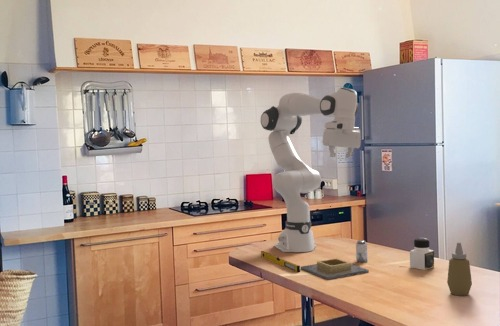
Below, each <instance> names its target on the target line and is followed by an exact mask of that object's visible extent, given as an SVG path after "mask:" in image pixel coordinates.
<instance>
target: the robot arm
mask: <svg viewBox="0 0 500 326" xmlns="http://www.w3.org/2000/svg"><path fill="white" fill-rule="evenodd" d="M358 112H359V103H358V93H357V91H356V90H355V89H352V88H348V87H339V88H338V89H337V90H336V91H335V92H333V93H331V94H327V95H325V96H324V97H322V98H319V97H316V96H313V95H309V94H306V93H302V92H301V93H300V92H291V93H287V94H284V95H282V96H281V98H279V101H278V105H277V106H274V105H273V106H271V107H269V108H268V109H266V110H265V111H263V112H262V114H261V116H260V125H261V127H262V129H264V130H265V131H271V132H270V133H269V135H268V137H267V139H268V145H269V148H270V150H271V153H272V156H273V157H274V160H275V162H276V165H277V166H278V167H279V168H280V169H282V170H283V171H281V172H279V173H276V174H274V176H273V179H272V186H273V188H274V190H275V191H276V192H277V193H278V194H279V195H281V197H282V199H283V200H284V202H285V207H286V221H284V223H285V228H284V229H283V231H281V233H280V234H278V238H277V239H278V243H275V244H274V245H273V246H274V248H276V249H278V250H279V251H281V252H282V253H308V252H311V251H314V250H315V249H316V247H317V244H315V238H314V232H313V230H312V229H311V228H312V221H311V210H310V209H311V207H310V205H309V203H308V201H306V200H303V198H302V197H301V193H305V192H312V191H314V190H317V189H319V188H320V186H321V183H322V176H321V174H320V172H319V171H318V170H316V169H314V168H311V167H310V166H309V165H307V163H305V162H304V161H303V160H302V159H301V158H300V156H299V154H298V152H297V151H296V148H295V147H294V145H293V143H292V141H291V139H290V135H293V134H295V133H296V132H297V130H299V128H300V127H301V125H302V121H303V118H302V117H303V116H312V115H321V114H322V115H323V116H325V117H329V118H333V120H331V121H328V122H325V123H324V128H325V129H324V131H323V135H322V144H323V146H327V147H328V150H329V153H330V155H329V157H331V158H336V155H337V153H336V152H335V149H336V147H337V148H347V153H345V158H346V159H351V158H352V154H353V152H354V149H360V147H361V145H362V144H361V143H362V142H361V141H362V138H361V137H362V135H361V129H360V128H359V127H358V126H355V124H356V123H355V122H356V116H357V114H358Z"/></svg>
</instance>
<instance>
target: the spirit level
mask: <svg viewBox="0 0 500 326" xmlns="http://www.w3.org/2000/svg"><path fill="white" fill-rule="evenodd" d="M260 256H261V258H263V259H266V260H267V261H270V262H272V263H274V264H277V265H280V266H282V267H284V268H287V269H288V270H291V271H293V272H295V273H300V272H301V266H300V265H298V264H296V263H293V262H291V261H288V260H286V259H284V258H279V256H276V255H274V254H271V253H270V252H266V251H265V250H261V251H260Z"/></svg>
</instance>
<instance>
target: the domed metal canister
mask: <svg viewBox="0 0 500 326" xmlns="http://www.w3.org/2000/svg"><path fill="white" fill-rule="evenodd" d="M355 253H356V254H355V256H356V257H355V260H356V261H357V262H356V263H359V262H361V263H360V264H364V263H363V262H365V263H368V243H367V242H366V240H364V239H362V240H361V239H360V240H357V242H356V243H355Z"/></svg>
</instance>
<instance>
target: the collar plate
mask: <svg viewBox="0 0 500 326" xmlns="http://www.w3.org/2000/svg"><path fill="white" fill-rule="evenodd" d="M300 270H302V271H305V272H308V273H310V274H312V275H314V276H317V277H320V278H323V279H324V280H333V279H338V278H344V277H350V276H355V275H361V274H366V273H369V269H367V268H364V267H362V266H358V265H355V264H352V262H349V261H345V260H344V259H340V258H338V257H336V258H332V259H331V258H330V259H324V260H318V261H316V263H313V264H308V265H302V266H300Z"/></svg>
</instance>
